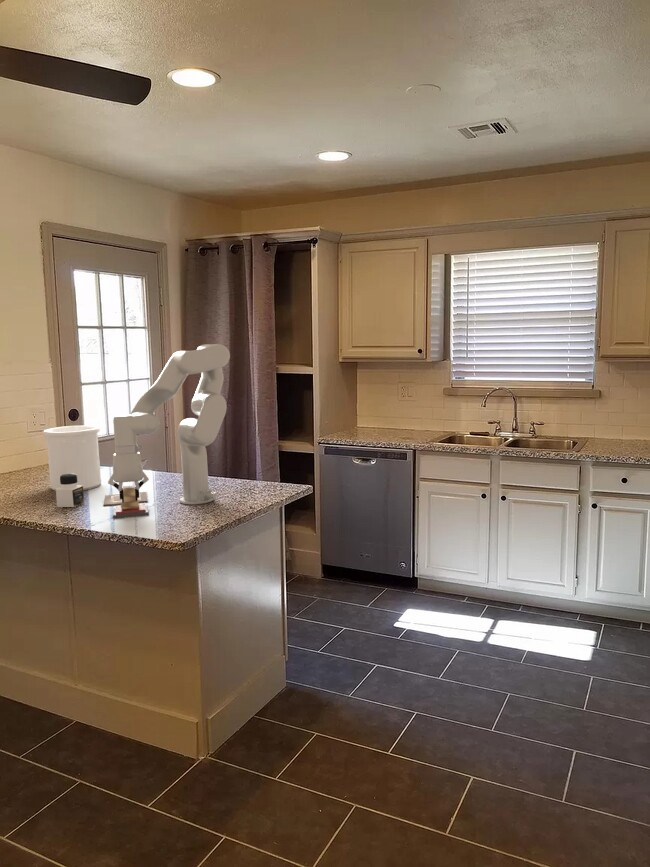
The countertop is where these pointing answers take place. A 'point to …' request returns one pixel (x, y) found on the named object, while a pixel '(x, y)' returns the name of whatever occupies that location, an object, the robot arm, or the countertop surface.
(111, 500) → the marked board
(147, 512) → the ink pad
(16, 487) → the countertop surface
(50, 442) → the bucket
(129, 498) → the stamp
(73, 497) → the medicine bottle
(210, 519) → the countertop surface
